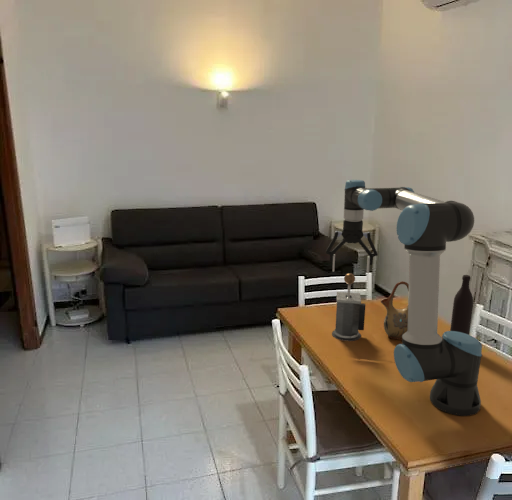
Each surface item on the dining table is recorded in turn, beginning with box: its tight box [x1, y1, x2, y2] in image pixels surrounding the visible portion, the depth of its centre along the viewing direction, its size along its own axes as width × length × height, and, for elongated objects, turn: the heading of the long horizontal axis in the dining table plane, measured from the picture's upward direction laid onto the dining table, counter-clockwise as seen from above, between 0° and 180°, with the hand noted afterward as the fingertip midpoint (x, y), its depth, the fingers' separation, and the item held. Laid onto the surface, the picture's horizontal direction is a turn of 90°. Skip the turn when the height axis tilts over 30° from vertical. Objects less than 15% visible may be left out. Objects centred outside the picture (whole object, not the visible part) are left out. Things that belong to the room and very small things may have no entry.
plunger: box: [343, 272, 356, 298], centre depth 202 cm, size 7×7×24 cm
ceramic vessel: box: [380, 281, 409, 341], centre depth 201 cm, size 16×9×25 cm, turn 90°
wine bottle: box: [449, 274, 474, 335], centre depth 193 cm, size 7×7×30 cm
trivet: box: [331, 330, 362, 342], centre depth 206 cm, size 12×12×1 cm
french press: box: [333, 291, 366, 340], centre depth 203 cm, size 10×12×17 cm
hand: (350, 271), depth 198 cm, fingers open, 13 cm apart
